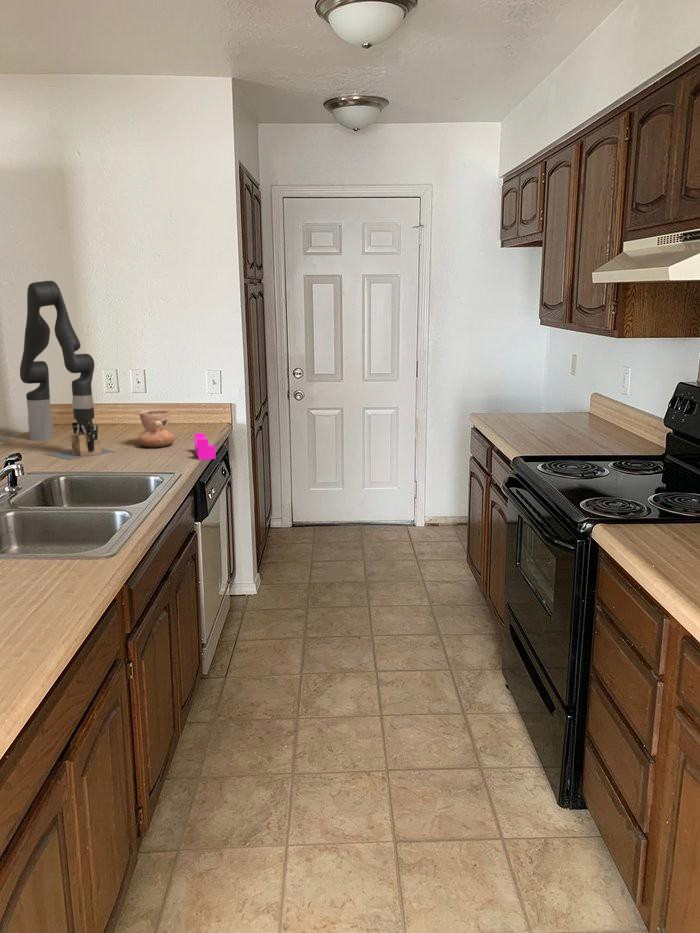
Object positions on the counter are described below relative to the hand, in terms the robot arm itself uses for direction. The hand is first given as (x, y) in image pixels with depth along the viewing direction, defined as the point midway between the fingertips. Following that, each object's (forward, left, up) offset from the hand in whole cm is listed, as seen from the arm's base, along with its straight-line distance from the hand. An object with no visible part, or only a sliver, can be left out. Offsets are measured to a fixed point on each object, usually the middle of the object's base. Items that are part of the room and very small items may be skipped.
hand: (86, 449), depth 287 cm
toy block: (+38, +26, -2) cm, 46 cm away
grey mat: (-5, 0, -2) cm, 5 cm away
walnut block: (0, 0, -2) cm, 2 cm away
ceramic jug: (+8, +27, -2) cm, 28 cm away
